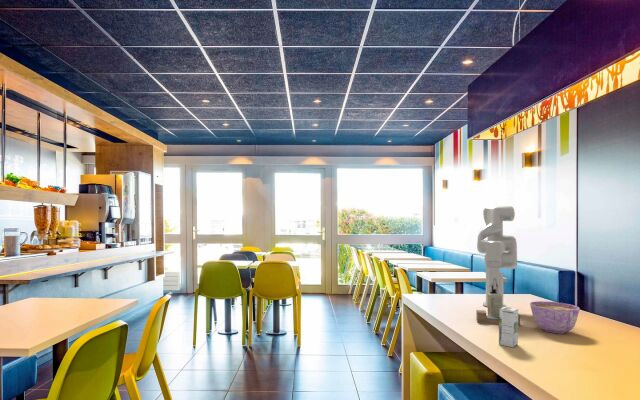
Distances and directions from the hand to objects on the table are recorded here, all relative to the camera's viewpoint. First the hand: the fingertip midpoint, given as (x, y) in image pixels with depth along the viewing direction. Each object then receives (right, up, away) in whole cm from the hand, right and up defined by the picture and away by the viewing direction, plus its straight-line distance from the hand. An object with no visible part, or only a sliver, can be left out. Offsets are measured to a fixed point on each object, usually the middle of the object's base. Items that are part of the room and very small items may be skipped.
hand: (493, 299), depth 227 cm
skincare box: (-1, -8, -5) cm, 10 cm away
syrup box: (-15, -6, -53) cm, 56 cm away
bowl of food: (+16, -8, -30) cm, 34 cm away
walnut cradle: (-4, -8, -16) cm, 18 cm away
